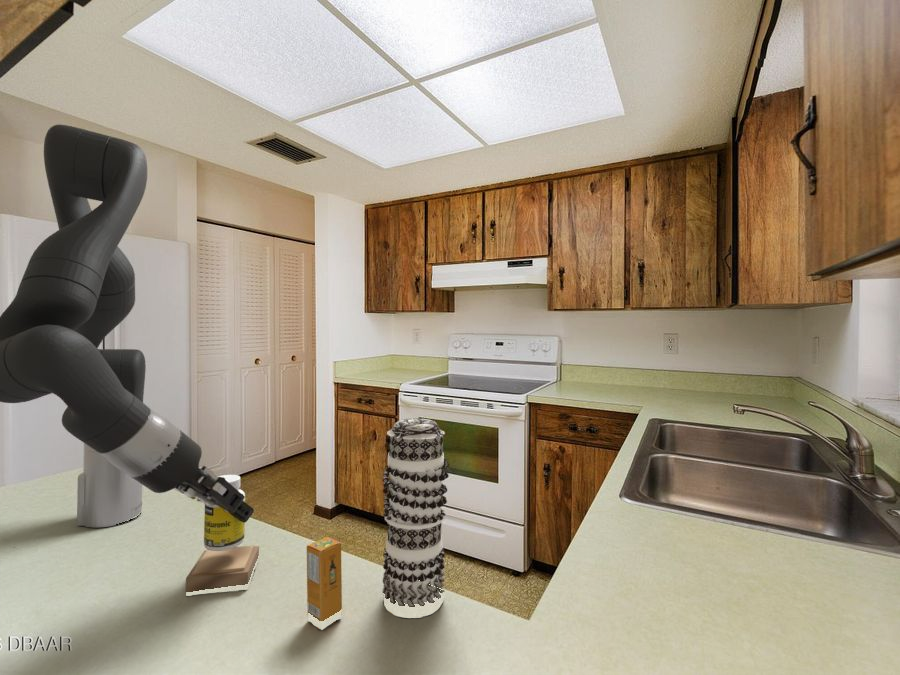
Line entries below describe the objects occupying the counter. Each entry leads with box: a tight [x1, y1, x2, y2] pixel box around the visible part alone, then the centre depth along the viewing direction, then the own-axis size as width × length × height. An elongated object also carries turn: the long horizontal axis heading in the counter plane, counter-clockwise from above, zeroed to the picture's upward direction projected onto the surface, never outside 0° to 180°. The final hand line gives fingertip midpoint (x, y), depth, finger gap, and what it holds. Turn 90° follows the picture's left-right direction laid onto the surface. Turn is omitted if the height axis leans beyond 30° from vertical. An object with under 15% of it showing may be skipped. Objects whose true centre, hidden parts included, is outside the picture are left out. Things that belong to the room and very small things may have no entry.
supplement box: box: [306, 536, 343, 621], centre depth 56 cm, size 3×3×10 cm
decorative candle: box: [382, 417, 450, 607], centre depth 61 cm, size 9×9×25 cm
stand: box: [185, 545, 260, 593], centre depth 66 cm, size 8×8×3 cm
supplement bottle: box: [203, 474, 246, 551], centre depth 65 cm, size 5×5×10 cm
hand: (236, 511), depth 67 cm, fingers closed on supplement bottle, 5 cm apart
